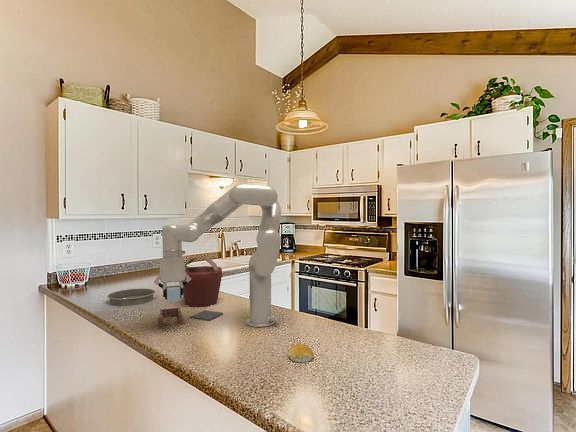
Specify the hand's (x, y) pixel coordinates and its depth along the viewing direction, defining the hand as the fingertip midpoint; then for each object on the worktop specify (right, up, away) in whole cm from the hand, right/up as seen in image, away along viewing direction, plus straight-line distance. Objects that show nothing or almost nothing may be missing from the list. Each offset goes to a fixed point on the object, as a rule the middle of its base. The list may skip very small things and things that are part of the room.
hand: (173, 297), depth 137 cm
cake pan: (-40, -14, +48) cm, 64 cm away
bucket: (+1, -14, +43) cm, 45 cm away
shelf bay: (-5, -14, +12) cm, 19 cm away
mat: (+9, -14, +19) cm, 25 cm away
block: (0, -1, -1) cm, 1 cm away
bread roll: (+52, -14, -27) cm, 60 cm away
